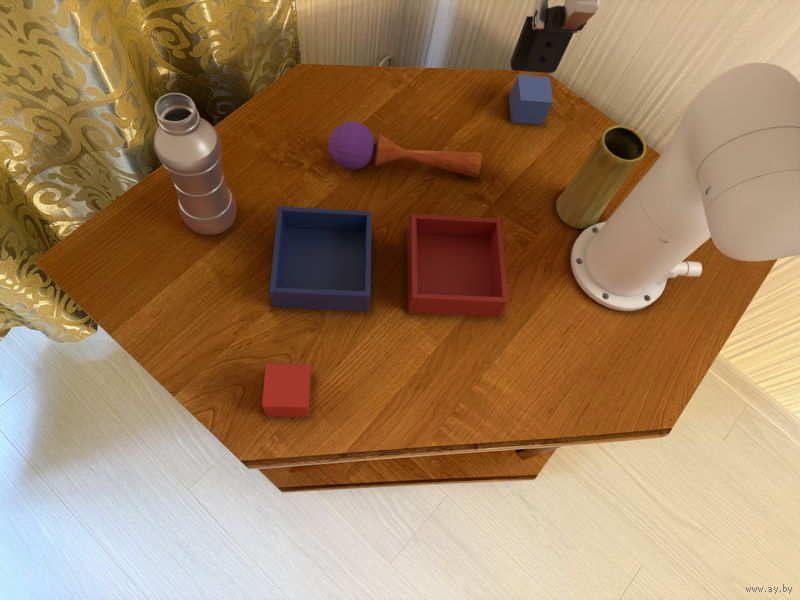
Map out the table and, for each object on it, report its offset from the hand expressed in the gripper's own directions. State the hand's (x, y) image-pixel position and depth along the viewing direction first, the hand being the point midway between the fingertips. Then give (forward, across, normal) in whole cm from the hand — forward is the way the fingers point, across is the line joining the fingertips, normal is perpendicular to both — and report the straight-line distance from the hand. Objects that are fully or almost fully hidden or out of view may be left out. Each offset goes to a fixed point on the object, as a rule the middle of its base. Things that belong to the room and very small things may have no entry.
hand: (524, 17), depth 43 cm
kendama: (+36, +13, +4) cm, 39 cm away
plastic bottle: (+36, +4, +28) cm, 46 cm away
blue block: (+36, +24, -14) cm, 45 cm away
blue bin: (+36, -3, +14) cm, 39 cm away
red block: (+36, -19, +18) cm, 44 cm away
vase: (+36, +7, -19) cm, 42 cm away
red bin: (+36, -3, -2) cm, 36 cm away
